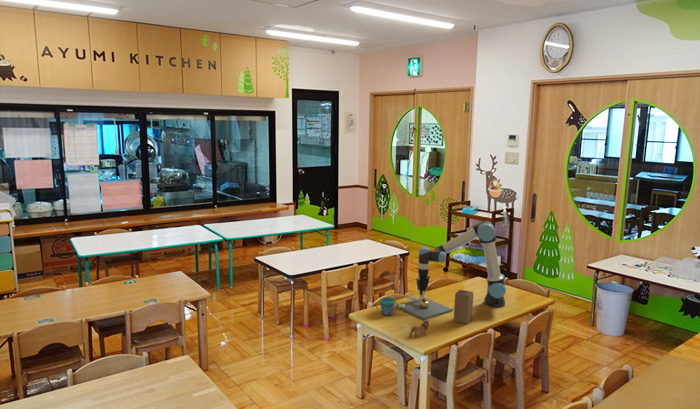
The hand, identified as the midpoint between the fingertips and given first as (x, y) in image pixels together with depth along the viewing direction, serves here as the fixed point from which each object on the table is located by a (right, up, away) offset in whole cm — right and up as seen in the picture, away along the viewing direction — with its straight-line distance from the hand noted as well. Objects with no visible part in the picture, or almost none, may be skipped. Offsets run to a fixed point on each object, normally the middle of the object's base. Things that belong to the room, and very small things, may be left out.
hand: (422, 298), depth 366 cm
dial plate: (0, -5, -12) cm, 13 cm away
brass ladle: (-5, -2, -7) cm, 9 cm away
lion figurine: (-10, -12, -56) cm, 58 cm away
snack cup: (-28, -6, -22) cm, 36 cm away
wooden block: (+23, -9, -32) cm, 40 cm away
